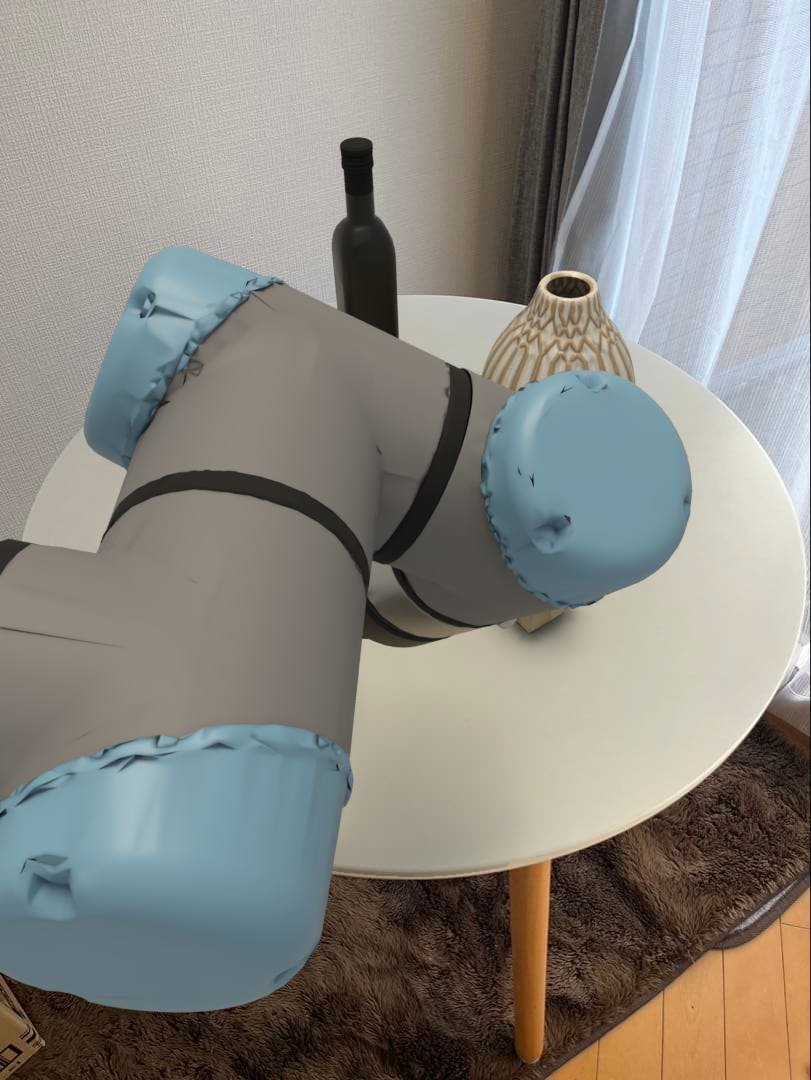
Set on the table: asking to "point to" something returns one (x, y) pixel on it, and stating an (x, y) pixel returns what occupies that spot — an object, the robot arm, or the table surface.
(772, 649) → the table surface
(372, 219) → the wine bottle
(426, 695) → the table surface
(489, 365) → the vase
